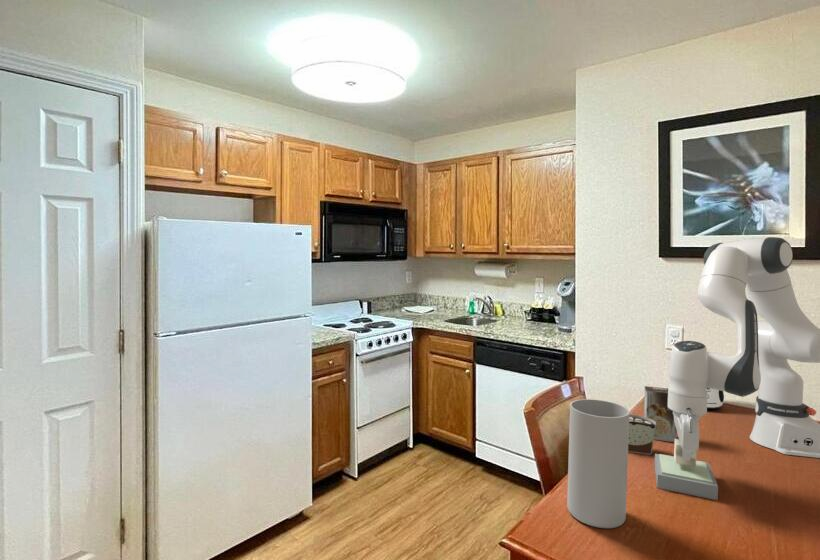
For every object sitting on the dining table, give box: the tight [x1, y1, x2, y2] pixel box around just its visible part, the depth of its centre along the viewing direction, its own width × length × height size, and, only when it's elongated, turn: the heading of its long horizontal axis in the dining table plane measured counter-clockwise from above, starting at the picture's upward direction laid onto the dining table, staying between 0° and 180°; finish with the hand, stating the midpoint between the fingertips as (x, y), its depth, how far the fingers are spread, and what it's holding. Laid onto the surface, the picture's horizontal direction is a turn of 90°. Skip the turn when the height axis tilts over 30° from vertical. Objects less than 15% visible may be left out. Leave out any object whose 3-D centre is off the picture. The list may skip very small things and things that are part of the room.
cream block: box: [673, 438, 697, 467], centre depth 118 cm, size 4×4×5 cm
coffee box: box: [643, 385, 678, 443], centre depth 148 cm, size 9×6×16 cm
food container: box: [628, 413, 658, 455], centre depth 139 cm, size 12×6×10 cm, turn 71°
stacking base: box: [654, 453, 719, 501], centre depth 119 cm, size 13×14×4 cm
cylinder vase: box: [566, 398, 630, 529], centre depth 103 cm, size 12×12×25 cm
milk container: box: [706, 387, 725, 410], centre depth 181 cm, size 17×17×18 cm
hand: (684, 454), depth 118 cm, fingers closed on cream block, 4 cm apart
